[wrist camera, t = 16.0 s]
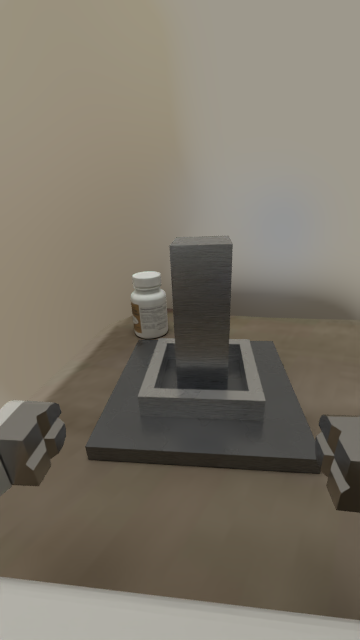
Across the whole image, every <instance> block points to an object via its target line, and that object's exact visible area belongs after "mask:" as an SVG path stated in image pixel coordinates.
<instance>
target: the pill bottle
mask: <svg viewBox="0 0 360 640" xmlns="http://www.w3.org/2000/svg"><path fill="white" fill-rule="evenodd" d="M132 279H133V285H134V286H133V287H134V288H135V291H134V292H133V293H132V294H131V305H132V313H133V321H134V329H135V334H136V335H137V336H139V337H141V338H145V339H152V338H158V337H161V336H163V335H165V334H166V333H167V331H168V320H167V306H166V294H165V292H164V291H163V290H162V289H160V286H161V274H160V273H158V272H154V271H146V272H139V273H136V274H134V275H133V276H132Z"/></svg>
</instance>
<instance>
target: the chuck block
mask: <svg viewBox="0 0 360 640" xmlns="http://www.w3.org/2000/svg"><path fill="white" fill-rule="evenodd" d="M85 447H86V451H87V455H88V459H89V460H106V461H122V462H138V463H155V464H171V465H187V466H204V467H220V468H236V469H253V470H269V471H285V472H302V473H318V474H320V472H321V471H320V468H319V466H318V463H317V459H316V455H315V439H314V437H313V435H312V432H311V430H310V428H309V425H308V423H307V421H306V418H305V416H304V414H303V411H302V409H301V407H300V404H299V402H298V400H297V397H296V395H295V393H294V390H293V388H292V385H291V383H290V381H289V378H288V376H287V374H286V371H285V369H284V367H283V364H282V362H281V360H280V357H279V355H278V353H277V350H276V348H275V346H274V343H273V341H249V339H229V361H228V389H227V390H196V389H178V388H177V370H176V352H175V339H173V338H159V340H139V341H138V343H137V345H136V347H135V349H134V351H133V353H132V355H131V357H130V359H129V361H128V363H127V365H126V367H125V368H124V370H123V372H122V374H121V376H120V378H119V380H118V382H117V384H116V386H115V388H114V390H113V392H112V394H111V396H110V398H109V400H108V402H107V404H106V406H105V408H104V410H103V412H102V414H101V416H100V418H99V420H98V422H97V424H96V426H95V428H94V430H93V432H92V434H91V436H90V438H89V440H88V442H87V444H86V446H85Z"/></svg>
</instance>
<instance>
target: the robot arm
mask: <svg viewBox="0 0 360 640" xmlns="http://www.w3.org/2000/svg"><path fill="white" fill-rule="evenodd" d="M60 414H61V410H60V407H59V404H57V403H51V402H37V401H18V400H12V401H10V402H7V403H6V404H5V405H4V406H3V407H2V408H1V409H0V496H1V495H2V494H3V493H5V492H6V491H7V490H8V489H10V488H11V487H12V485H23V486H39V485H40V484H41V482H42V480H43V479H44V477H45V475H46V474H47V472H48V470H49V469H50V467H51V462H50V459H52V458H53V457H54V456H56V455H57V454H59V452H60V450H61V448H62V447H63V444H64V441H65V437H66V428H65V424H64V422H63V421H62V420H60V419H59V418H58V417H59V416H60ZM319 426H320V429H321V431H322V432H321V433H320V434H319V435H317V436H316V441H315V455H316V459H317V463H318V466H319V468H320V471H321V472H322V473H323V474H325V475H326V476H327V477H328V481H327V485H326V486H327V489H328V491H329V494H330V496H331V499H332V501H333V503H334V506H335V508H336V510H339V511H349V512H358V513H360V416H350V415H322V416H321V418H320V422H319ZM0 640H360V620H353V619H345V618H337V617H329V616H321V615H312V614H304V613H296V612H288V611H280V610H271V609H263V608H255V607H247V606H239V605H230V604H222V603H214V602H206V601H197V600H189V599H181V598H173V597H165V596H156V595H148V594H140V593H132V592H124V591H115V590H107V589H99V588H91V587H82V586H74V585H66V584H58V583H49V582H41V581H33V580H25V579H16V578H8V577H0Z"/></svg>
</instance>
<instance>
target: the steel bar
mask: <svg viewBox="0 0 360 640" xmlns="http://www.w3.org/2000/svg"><path fill="white" fill-rule="evenodd" d="M170 261H171V277H172V279H171V280H172V296H173V316H174V334H175V352H176V370H177V388H178V389H196V390H227V389H228V361H229V332H230V301H231V273H232V242H231V240H230V238H229V236H208V237H207V236H206V237H176V239H175V240H174V241H173V242H172V243H171V245H170Z"/></svg>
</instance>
